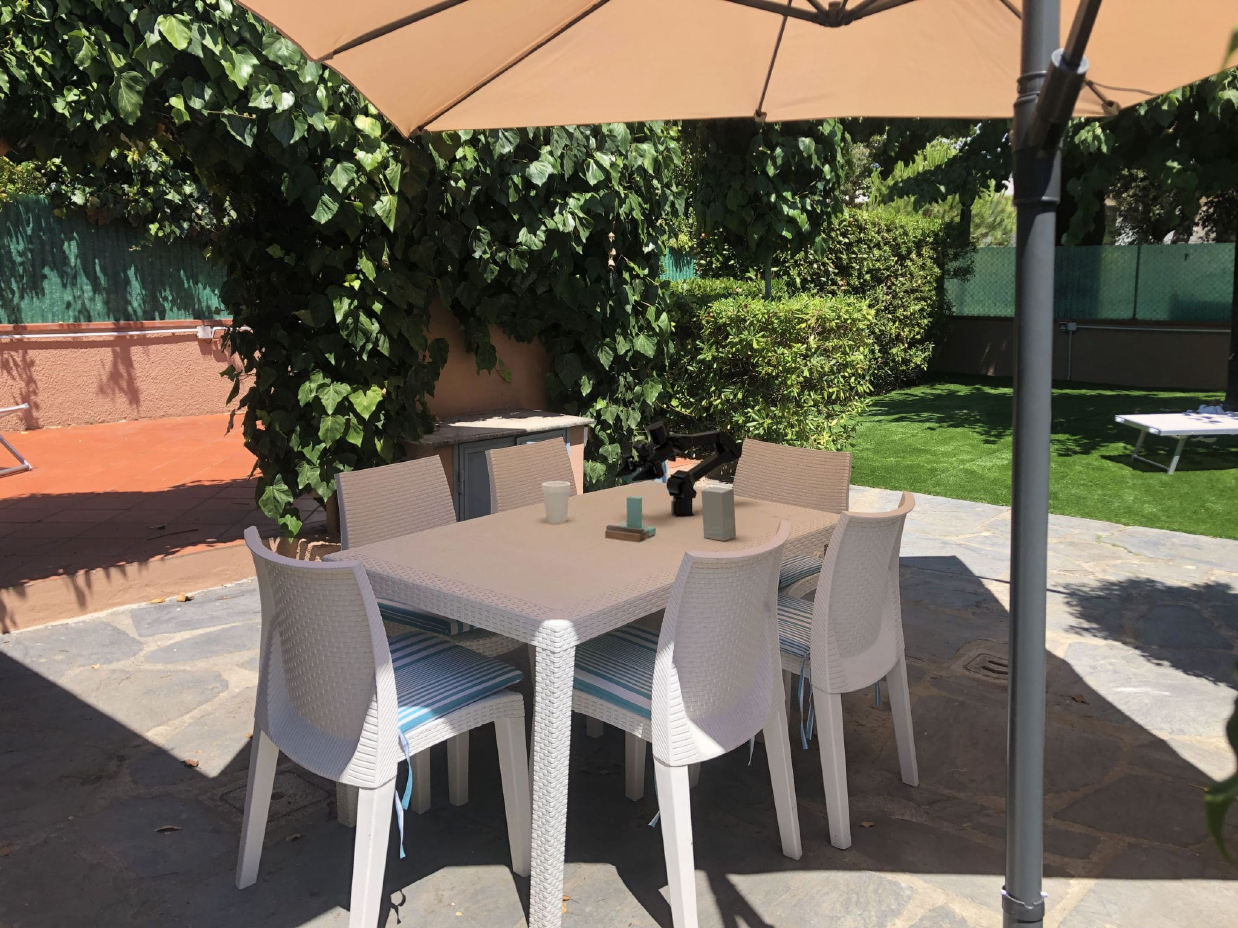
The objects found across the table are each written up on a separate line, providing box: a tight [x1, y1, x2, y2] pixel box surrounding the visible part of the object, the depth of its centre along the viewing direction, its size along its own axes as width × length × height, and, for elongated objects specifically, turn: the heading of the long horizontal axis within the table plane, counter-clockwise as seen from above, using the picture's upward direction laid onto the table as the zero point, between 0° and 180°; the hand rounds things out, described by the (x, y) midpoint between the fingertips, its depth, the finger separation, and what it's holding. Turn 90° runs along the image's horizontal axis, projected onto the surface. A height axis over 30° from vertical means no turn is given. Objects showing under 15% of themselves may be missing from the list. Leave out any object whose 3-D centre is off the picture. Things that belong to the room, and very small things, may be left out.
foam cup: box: [541, 480, 571, 525], centre depth 332 cm, size 10×9×13 cm
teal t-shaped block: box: [617, 496, 657, 537], centre depth 313 cm, size 4×12×12 cm, turn 60°
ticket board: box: [604, 524, 650, 543], centre depth 309 cm, size 6×13×4 cm, turn 60°
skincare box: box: [701, 486, 737, 542], centre depth 306 cm, size 8×7×16 cm
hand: (623, 478), depth 324 cm, fingers open, 9 cm apart
